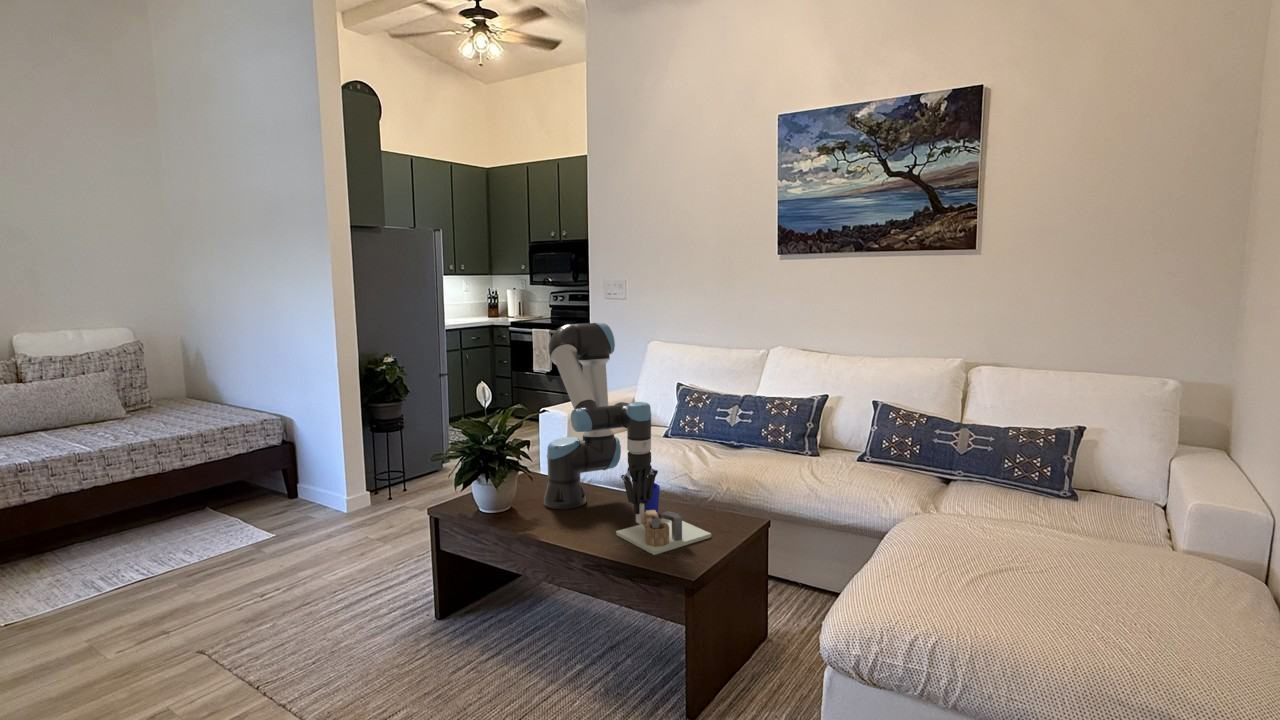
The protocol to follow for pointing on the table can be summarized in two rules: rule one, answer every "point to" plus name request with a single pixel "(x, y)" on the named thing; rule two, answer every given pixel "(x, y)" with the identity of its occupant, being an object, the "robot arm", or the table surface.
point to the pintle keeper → (675, 523)
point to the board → (688, 536)
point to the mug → (654, 499)
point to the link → (655, 530)
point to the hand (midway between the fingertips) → (640, 522)
